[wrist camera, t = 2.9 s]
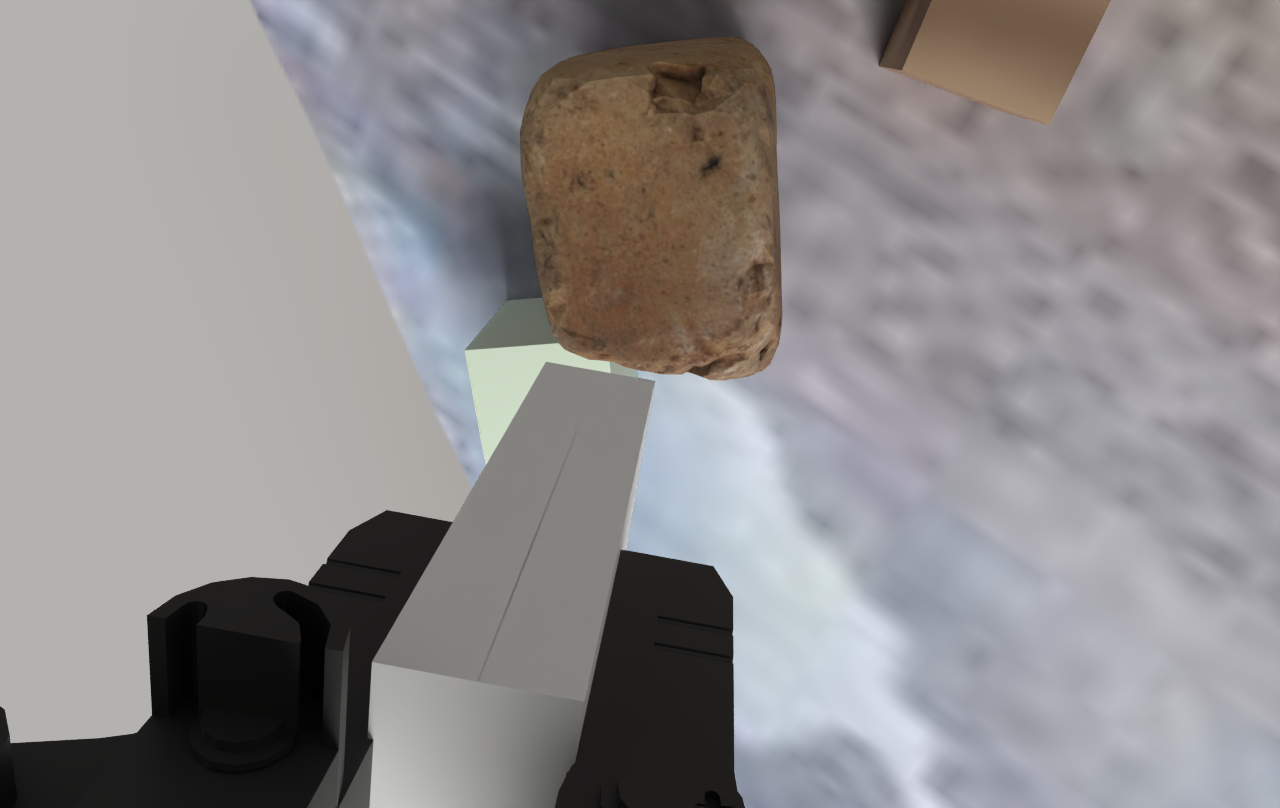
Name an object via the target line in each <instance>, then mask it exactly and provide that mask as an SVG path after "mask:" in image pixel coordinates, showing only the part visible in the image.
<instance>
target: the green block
mask: <svg viewBox="0 0 1280 808" xmlns="http://www.w3.org/2000/svg"><path fill="white" fill-rule="evenodd" d="M465 356H466V361H467V367H468V372H469V377H470V383H471V388H472V394H473V399H474V405H475V410H476V416H477V421H478V426H479V432H480V437H481V443H482V448H483V454H484V459H485V465H486V464H487V463H488V461H489V459H490V457H491V456H492V454H493V452H494V450H495V449H496V447H497V445H498V444H499V442H500V440H501V438H502V437H503V435H504V433H505V432H506V430H507V428H508V426H509V425H510V423H511V421H512V419H513V418H514V416H515V414H516V413H517V411H518V409H519V407H520V406H521V404H522V402H523V400H524V399H525V397H526V395H527V394H528V392H529V390H530V388H531V387H532V385H533V383H534V381H535V380H536V378H537V376H538V375H539V373H540V371H541V369H542V368H543V366H544V364H545V362H551V363H556V364H562V365H568V366H573V367H579V368H585V369H590V370H596V371H602V372H607V373H613V374H618V375H624V376H630V377H635V378H637V373H636V370H635V369H631V368H626V367H623V366H621V365H619V364H617V363H615V362H608V361H600V360H588V359H586V358H583V357H581V356H578V355H576V354H573V353H571V352H569V351H566V350H564V349H563V348H562V346H561V345H560V344H559V343H558V341H557V340H556V338H555V337H554V335H553V334H552V331H551V328H550V325H549V321H548V318H547V314H546V310H545V306H544V302H543V297H541V298H529V299H517V300H507V301H506V302H505V304H504V305H503V306H502V307H501V308H500V309H499V311H498V312H497V313H496V314H495V315H494V317H493V318H492V319H491V320H490V321H489V322H488V324H487V325H486V326H485V327H484V328H483V329H482V331H481V332H480V333H479V334H478V335H477V336H476V338H475V339H474V340H473V341H472V342H471V343H470V345H469V346H468V347H467V348H466V349H465Z"/></svg>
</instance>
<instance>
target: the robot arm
mask: <svg viewBox="0 0 1280 808" xmlns="http://www.w3.org/2000/svg"><path fill="white" fill-rule="evenodd" d="M654 385H655V381H652V380H647V379H641V378H635V377H630V376H624V375H618V374H613V373H607V372H602V371H596V370H590V369H585V368H579V367H573V366H568V365H562V364H556V363H551V362H545V364H544V366H543V368H542V369H541V371H540V373H539V375H538V376H537V378H536V380H535V381H534V383H533V385H532V387H531V388H530V390H529V392H528V394H527V395H526V397H525V399H524V400H523V402H522V404H521V406H520V407H519V409H518V411H517V413H516V414H515V416H514V418H513V419H512V421H511V423H510V425H509V426H508V428H507V430H506V432H505V433H504V435H503V437H502V438H501V440H500V442H499V444H498V445H497V447H496V449H495V450H494V452H493V454H492V456H491V457H490V459H489V461H488V463H487V464H486V466H485V468H484V469H483V471H482V473H481V475H480V476H479V478H478V480H477V482H476V483H475V485H474V487H473V488H472V490H471V492H470V494H469V495H468V497H467V499H466V501H465V502H464V504H463V506H462V508H461V509H460V511H459V513H458V514H457V516H456V518H455V520H454V521H453V522H448V521H443V520H437V519H432V518H426V517H421V516H416V515H410V514H404V513H399V512H393V511H388V510H387V511H385V512H383V513H381V514H379V515H377V516H375V517H374V518H372V519H370V520H368V521H366V522H364V523H362V524H360V525H359V526H357V527H355V528H353V529H351V530H350V531H349V532H348V533H347V534H346V535H345V537H344V538H343V539H342V541H341V542H340V543H339V544H338V546H337V547H336V548H335V549H334V551H333V552H332V553H331V555H330V556H329V557H328V559H327V563H326V564H323V565H322V566H321V567H320V569H319V570H318V571H317V572H316V574H315V575H314V577H313V578H312V579H311V580H310V581H309V585H308V586H307V585H304V584H301V583H298V582H295V581H292V580H287V579H272V578H256V577H249V578H241V579H234V580H227V581H220V582H213V583H210V584H207V585H204V586H201V587H198V588H196V589H193V590H190V591H187V592H184V593H182V594H179V595H176V596H174V597H173V598H172V599H170V600H169V601H167V602H166V603H164V604H163V605H161V606H160V607H159V608H157V609H156V610H154V611H153V612H151V613H150V614H149V615H147V624H148V644H149V663H150V682H151V701H152V716H151V717H150V718H149V719H148V720H147V722H146V723H145V724H144V725H143V726H142V727H141V729H140V730H139V731H138V732H137V733H134V734H129V735H121V736H113V737H106V738H96V739H78V740H61V741H43V742H26V743H10V735H9V730H8V725H7V719H6V714H5V710H4V709H3V708H2V707H0V808H745V807H744V803H743V799H742V797H741V795H740V794H739V793H738V792H737V786H736V780H735V774H734V680H733V663H732V662H733V636H732V633H733V596H732V595H731V593H730V592H729V590H728V589H727V587H726V585H725V584H724V582H723V581H722V579H721V578H720V576H719V574H718V573H717V571H716V570H715V568H714V567H713V566H709V565H703V564H698V563H692V562H687V561H681V560H676V559H670V558H665V557H659V556H654V555H648V554H643V553H637V552H632V551H626V548H627V542H628V536H629V530H630V525H631V519H632V513H633V507H634V501H635V496H636V490H637V484H638V478H639V472H640V466H641V461H642V455H643V449H644V443H645V437H646V431H647V426H648V420H649V414H650V408H651V402H652V397H653V391H654Z"/></svg>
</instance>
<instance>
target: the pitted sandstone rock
mask: <svg viewBox="0 0 1280 808" xmlns="http://www.w3.org/2000/svg"><path fill="white" fill-rule="evenodd" d="M776 144H777V127H776V96H775V86H774V81H773V76H772V72H771V68H770V66H769V65H768V63H767V61H766V59H765V57H763V56H762V55H761V53H760V51H759V50H758V49H757V48H756V47H754V46H753V45H752V44H751V43H749V42H747V41H745V40H743V39H740V38H731V37H709V38H697V39H687V40H678V41H669V42H660V43H652V44H643V45H633V46H626V47H621V48H615V49H609V50H603V51H598V52H593V53H589V54H585V55H578V56H575V57H572V58H569V59H567V60H565V61H562V62H560V63H558V64H557V65H555V66H554V67H552V68H551V69H550V70H548V71H547V72H545V73H544V74H542V76H541V77H540V78H539V80H538V81H537V83H536V85H535V86H534V88H533V90H532V92H531V94H530V97H529V100H528V103H527V106H526V109H525V112H524V117H523V121H522V126H521V130H520V147H521V169H522V180H523V187H524V193H525V198H526V204H527V209H528V214H529V219H530V224H531V229H532V239H533V248H534V255H535V262H536V269H537V276H538V281H539V285H540V289H541V293H542V297H543V302H544V306H545V310H546V314H547V318H548V321H549V325H550V328H551V331H552V334H553V335H554V337H555V338H556V340H557V341H558V343H559V344H560V345H561V346H562V348H563V349H564V350H566V351H569V352H571V353H573V354H576V355H578V356H581V357H583V358H586V359H588V360H600V361H608V362H615V363H617V364H619V365H621V366H623V367H626V368H631V369H635V370H641V371H649V372H654V373H658V374H684V373H685V372H690V373H693V374H696V375H698V376H701V377H704V378H707V379H709V380H728V379H733V378H743V377H747V376H751V375H754V374H755V373H756V372H759V371H762V370H764V369H765V368H766V367H767V366H768V365H769V364H770V363H771V360H772V358H773V356H774V354H775V351H776V349H777V347H778V345H779V340H780V333H781V325H782V290H781V248H780V215H779V194H778V175H777V146H776Z"/></svg>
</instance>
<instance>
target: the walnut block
mask: <svg viewBox="0 0 1280 808" xmlns="http://www.w3.org/2000/svg"><path fill="white" fill-rule="evenodd" d="M1110 1H1111V0H906V2H905V4H904V7H903V9H902V11H901V14H900V16H899V19H898V21H897V23H896V26H895V28H894V31H893V33H892V35H891V38H890V40H889V43H888V45H887V47H886V50H885V52H884V55H883V57H882V60H881V62H880V64H879V66H880V67H883V68H885V69H888V70H891V71H894V72H896V73H899V74H902V75H904V76H907V77H910V78H912V79H915V80H918V81H921V82H923V83H926V84H929V85H931V86H934V87H937V88H939V89H942V90H945V91H948V92H950V93H953V94H956V95H958V96H961V97H964V98H966V99H969V100H972V101H975V102H977V103H980V104H983V105H985V106H988V107H991V108H993V109H996V110H999V111H1002V112H1004V113H1007V114H1011V115H1014V116H1018V117H1022V118H1025V119H1029V120H1032V121H1036V122H1040V123H1043V124H1047V125H1049V124H1050V122H1051V120H1052V118H1053V116H1054V114H1055V112H1056V110H1057V108H1058V106H1059V104H1060V102H1061V100H1062V98H1063V96H1064V94H1065V92H1066V90H1067V88H1068V86H1069V84H1070V82H1071V80H1072V78H1073V76H1074V74H1075V71H1076V69H1077V67H1078V65H1079V63H1080V61H1081V59H1082V57H1083V55H1084V53H1085V51H1086V49H1087V47H1088V45H1089V43H1090V41H1091V39H1092V37H1093V35H1094V33H1095V31H1096V29H1097V27H1098V25H1099V23H1100V21H1101V19H1102V17H1103V15H1104V13H1105V11H1106V9H1107V7H1108V5H1109V3H1110Z"/></svg>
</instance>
